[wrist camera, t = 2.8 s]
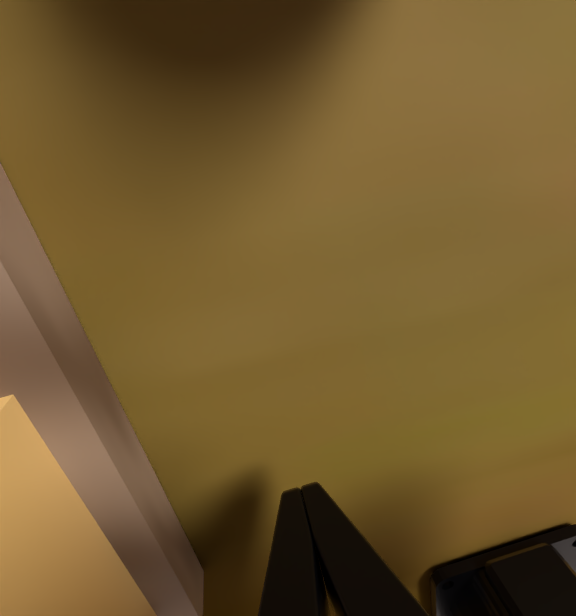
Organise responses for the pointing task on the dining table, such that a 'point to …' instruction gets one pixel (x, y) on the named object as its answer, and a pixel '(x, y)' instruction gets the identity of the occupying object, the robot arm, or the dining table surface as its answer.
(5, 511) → the light orange rectangular block
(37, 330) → the board
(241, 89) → the dining table surface
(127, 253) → the dining table surface
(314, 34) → the dining table surface
